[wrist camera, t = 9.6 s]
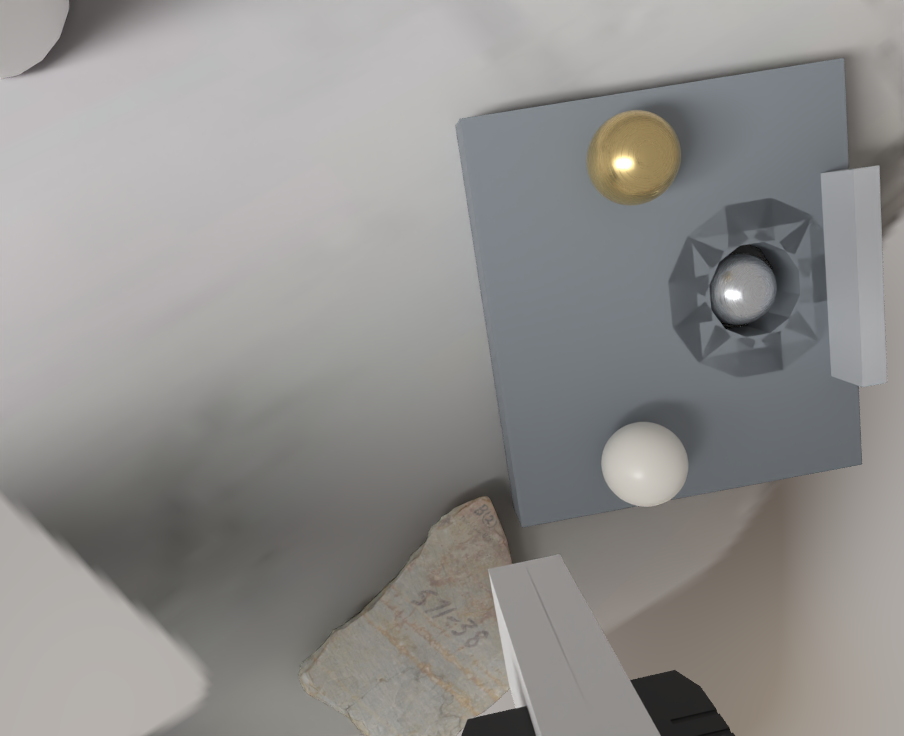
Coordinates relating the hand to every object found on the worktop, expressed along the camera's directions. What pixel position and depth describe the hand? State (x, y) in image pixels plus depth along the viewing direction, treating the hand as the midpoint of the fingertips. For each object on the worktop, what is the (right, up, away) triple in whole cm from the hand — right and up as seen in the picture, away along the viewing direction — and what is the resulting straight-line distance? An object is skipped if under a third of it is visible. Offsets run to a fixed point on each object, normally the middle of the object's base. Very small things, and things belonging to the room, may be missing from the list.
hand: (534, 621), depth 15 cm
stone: (-4, -9, +26) cm, 28 cm away
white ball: (+7, +1, +20) cm, 21 cm away
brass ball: (+6, +14, +17) cm, 23 cm away
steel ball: (+13, +9, +21) cm, 26 cm away
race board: (+9, +9, +23) cm, 26 cm away
